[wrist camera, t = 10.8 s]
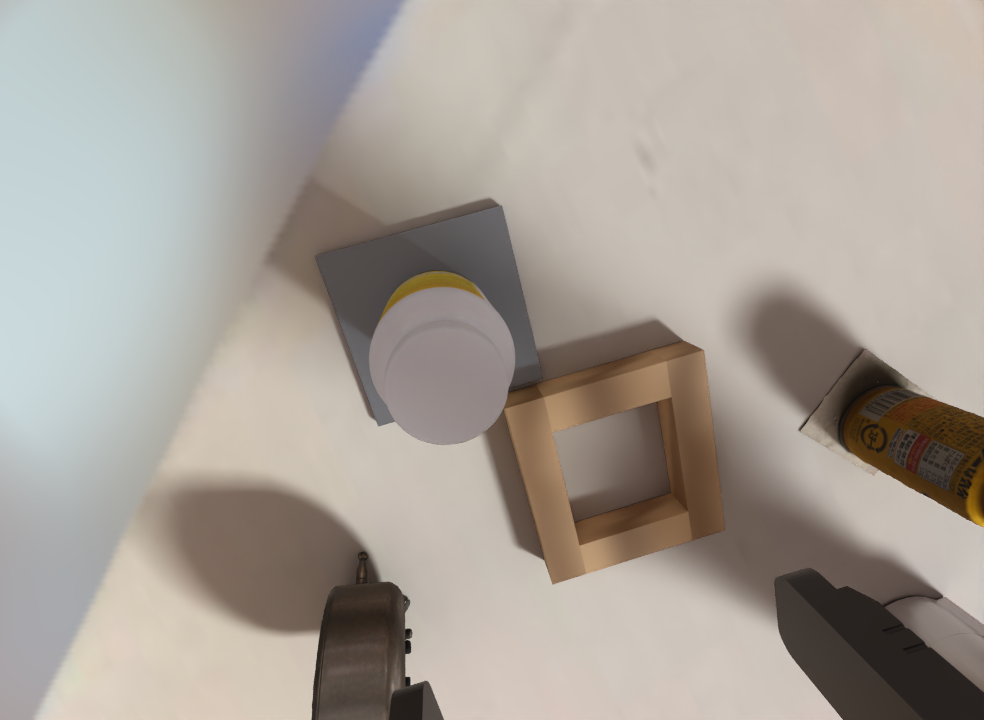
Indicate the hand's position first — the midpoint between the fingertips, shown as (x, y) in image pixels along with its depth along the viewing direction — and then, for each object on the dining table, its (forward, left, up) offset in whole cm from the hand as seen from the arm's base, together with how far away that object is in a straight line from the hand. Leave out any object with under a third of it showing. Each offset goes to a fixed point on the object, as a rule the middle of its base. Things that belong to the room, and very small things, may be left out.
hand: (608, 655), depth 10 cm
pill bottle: (+2, -4, -21) cm, 21 cm away
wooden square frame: (-7, +9, -21) cm, 24 cm away
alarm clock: (+12, +15, -21) cm, 29 cm away
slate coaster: (+2, -4, -21) cm, 21 cm away
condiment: (-27, +12, -21) cm, 36 cm away
